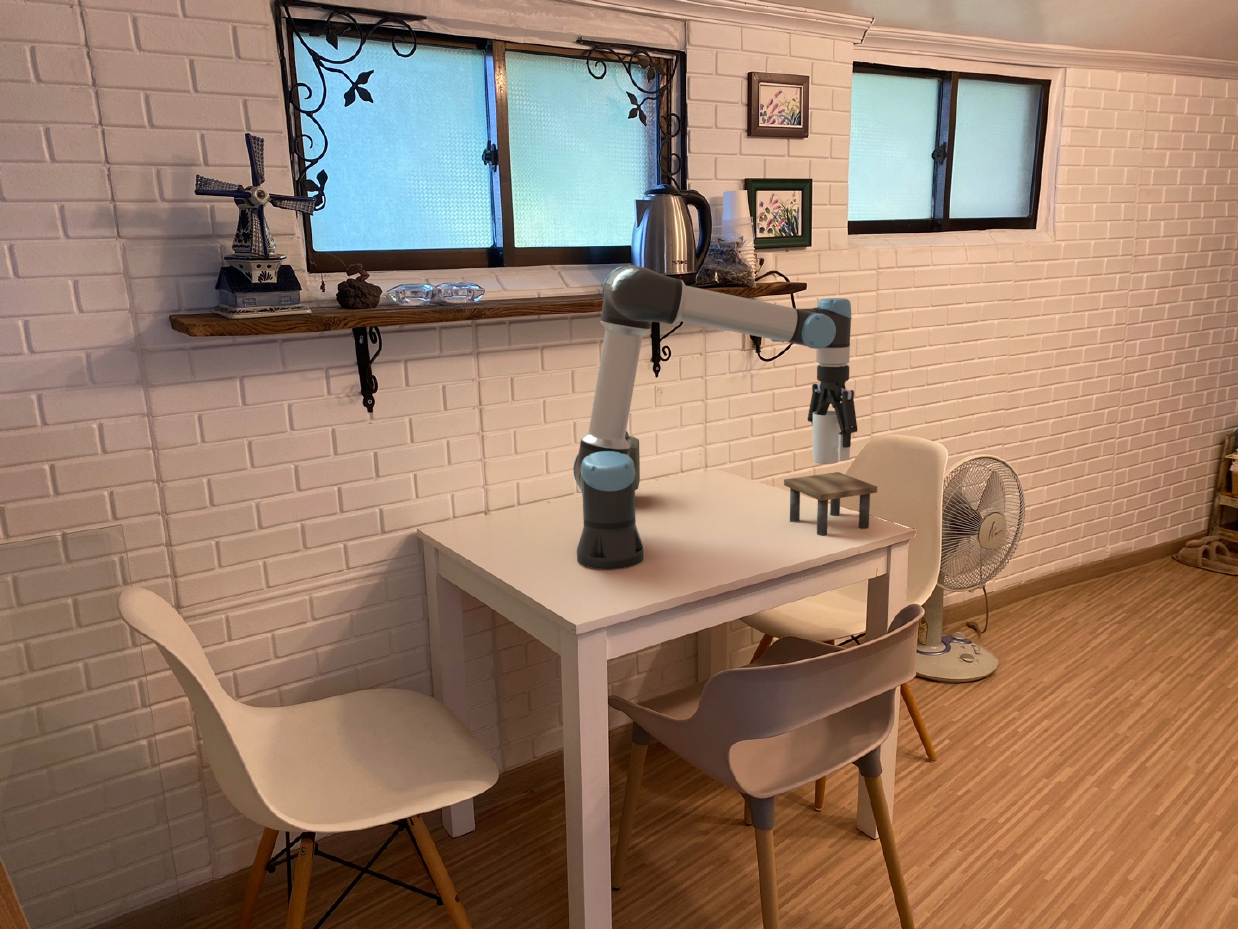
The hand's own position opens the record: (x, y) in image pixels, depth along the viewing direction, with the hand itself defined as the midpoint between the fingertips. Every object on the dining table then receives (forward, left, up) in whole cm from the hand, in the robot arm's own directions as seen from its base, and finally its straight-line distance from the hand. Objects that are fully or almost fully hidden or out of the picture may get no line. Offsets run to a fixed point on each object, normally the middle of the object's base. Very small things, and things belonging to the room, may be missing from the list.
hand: (830, 455), depth 224 cm
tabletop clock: (-38, +42, -18) cm, 59 cm away
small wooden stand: (0, 0, -17) cm, 17 cm away
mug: (0, 0, -2) cm, 2 cm away
